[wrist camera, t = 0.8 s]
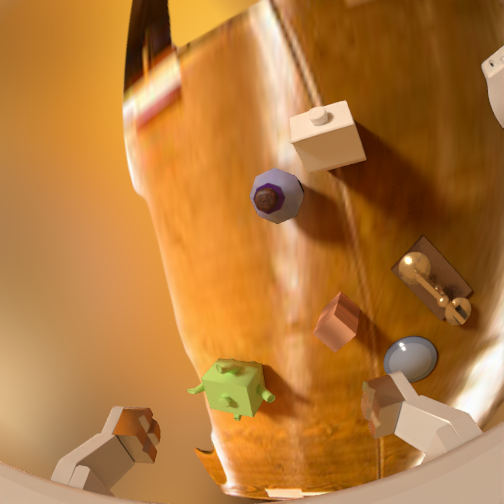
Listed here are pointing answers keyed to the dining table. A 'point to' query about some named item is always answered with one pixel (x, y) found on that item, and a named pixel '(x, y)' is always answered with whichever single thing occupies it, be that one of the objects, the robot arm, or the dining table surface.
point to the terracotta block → (337, 322)
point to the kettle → (235, 387)
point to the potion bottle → (277, 195)
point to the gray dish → (411, 357)
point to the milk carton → (326, 138)
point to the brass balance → (434, 281)
